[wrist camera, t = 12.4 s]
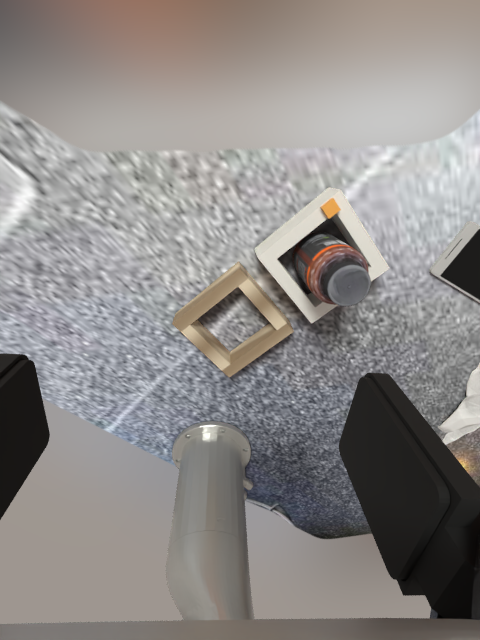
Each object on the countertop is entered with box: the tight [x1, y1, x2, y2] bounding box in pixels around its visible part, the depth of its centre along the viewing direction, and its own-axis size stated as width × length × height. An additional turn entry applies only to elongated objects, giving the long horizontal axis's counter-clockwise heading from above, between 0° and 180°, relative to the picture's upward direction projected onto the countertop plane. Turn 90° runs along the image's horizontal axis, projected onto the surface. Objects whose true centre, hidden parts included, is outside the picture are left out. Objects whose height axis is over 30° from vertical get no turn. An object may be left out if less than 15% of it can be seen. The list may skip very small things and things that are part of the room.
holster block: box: [172, 262, 294, 377], centre depth 40 cm, size 11×11×3 cm
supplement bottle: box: [293, 232, 371, 306], centre depth 34 cm, size 6×6×11 cm
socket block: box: [254, 188, 390, 323], centre depth 36 cm, size 11×11×5 cm
